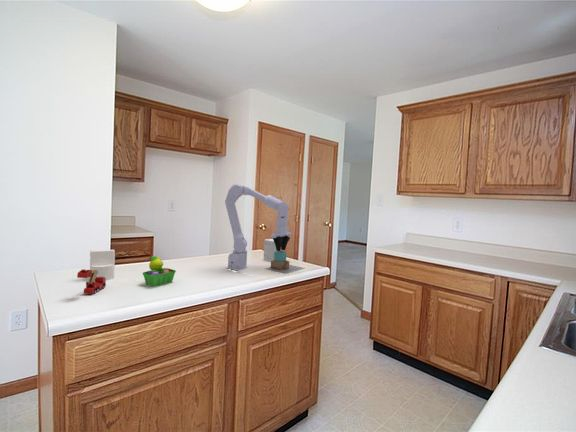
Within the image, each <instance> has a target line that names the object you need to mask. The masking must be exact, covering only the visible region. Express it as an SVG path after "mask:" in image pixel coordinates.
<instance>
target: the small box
mask: <svg viewBox="0 0 576 432" xmlns="http://www.w3.org/2000/svg"><path fill="white" fill-rule="evenodd" d="M275 251H276V246H275V243H274V240H273V238H268V239H267V238H266V239H264V243H263V260H264V261H266V262H270V263H271V261H272V260H274V253H275Z"/></svg>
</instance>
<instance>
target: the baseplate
mask: <svg viewBox="0 0 576 432" xmlns="http://www.w3.org/2000/svg"><path fill="white" fill-rule="evenodd" d="M304 269H306V268H305V267H301V266H297V265H293V264H289V269H285V270H282V271H280V270H276V269H272V268H271V266H270V267H266V268H264V270H267V271H271V272H272V271H273V272H276V273H280V274H284V275H287V274H290V273H293V272H297V271H300V270H304Z"/></svg>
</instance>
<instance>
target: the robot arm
mask: <svg viewBox="0 0 576 432" xmlns="http://www.w3.org/2000/svg"><path fill="white" fill-rule="evenodd" d="M242 196H250V197H253V198H255V199H258V200H259V201H261V202H263V204H264V206H266V207H268V208H270V209H273V210H274V211H276V210H277V215H276V230H275V231H276V232H274V233H271V235H270V236H271V238H270V239H273V240H274V243H275V246H276V251H286V247H287V245H288V243H289V241H290V239H291V237H292V232H290V231H288V222H289V221H288V219H289V210H290V207H289V204H288V203H286V202H285V201H283V199H278V198H276V197H274V195H273V194H272V195H270V194H269V195H264V194H263V193H260V192H259V191H257V190H255V189H252V188H251V187H249V186H244V185H241V184H238V183H235V184H232V185H231V186H230V188H229V189H228V192H227V195H226V197H225V200H224V203H225V207H226V211H227V216H228V220H229V224H230V227H231V231H232V235H233V236H232V237H233V242H234V243H233V250H232V252H231V253H229V255H228V260H227V267H226V269H227V270H231V271H235V272H238V270H241V269H242V270H243V269H246V268H247V264H248V263H247V261H248V251H247V246H248V242H247V239H246V238H245V237H244V234H243V231H242V228H241V222H240V219H239V214H238V210H237V207H236V203H237V201H238V199H239V198H240V197H242Z"/></svg>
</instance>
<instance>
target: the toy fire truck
mask: <svg viewBox="0 0 576 432" xmlns="http://www.w3.org/2000/svg"><path fill="white" fill-rule="evenodd" d="M97 274H98V271H97V270H90V269H81V270H79V271H78V272H77V275H76V277H77V278H78V279H88V278H89V279H88V281H86V283H85V288H84V289H83V295H95V294H96V293H99V292H100V291H101V290H103V289H105V287H106V285H107V284H106V283H107V280H106V279H105V277H96V276H97Z"/></svg>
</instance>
